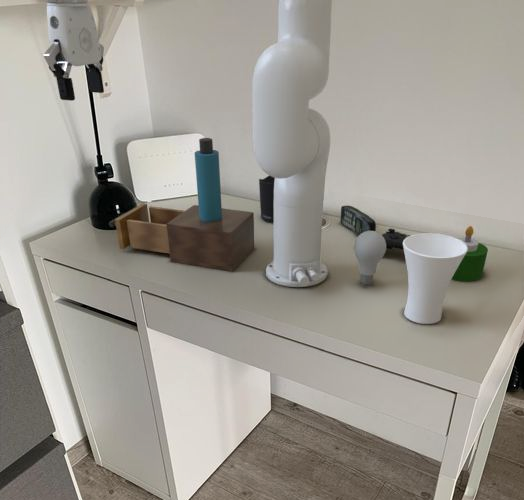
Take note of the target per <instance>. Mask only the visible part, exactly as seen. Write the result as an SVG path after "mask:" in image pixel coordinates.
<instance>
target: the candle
mask: <svg viewBox="0 0 524 500" xmlns="http://www.w3.org/2000/svg"><path fill="white" fill-rule="evenodd" d="M464 233H465V237H457V239H459V240H461V241H463V242H464V243H465V244H466V245H467V247H468V251H467V253H466V254H465V256H464V258H463V259H462V261H461V263H460V264H459V266H458V268H457V270H456V272H455V273H454V275H453V277H452V279H451V280H453V281H457V282H475V281H478V280H480V279H481V278H482V277H483V273H484V269H485V266H486V260H487V256H488V251H489V249H488V247H487V246H486V245H485V244H483V243H481V242H479V241H478V240H477V239H476V238H472V236H473V234H474V228H473V226H472V225H469V226H468V227H467V228H466V230H465V231H464Z"/></svg>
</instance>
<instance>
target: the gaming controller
mask: <svg viewBox="0 0 524 500" xmlns="http://www.w3.org/2000/svg"><path fill="white" fill-rule="evenodd" d="M381 235H382V236H383V237H384V239H385V241H386V250H393V249H396V250H400V251H404V248H403V240H404V239H405V238H407V237H409V236H411V235H412V234H406V233H402V232H400V231H396V229H395V228H388V229H387V231H386V232H385V233H383V234H381Z"/></svg>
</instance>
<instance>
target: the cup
mask: <svg viewBox="0 0 524 500" xmlns="http://www.w3.org/2000/svg"><path fill="white" fill-rule="evenodd" d="M410 235H411V236H409V237H407V238H405V239H404V240H403V248H404V250H403V253H404V258H405V264H406V270H407V277H408V278H407V281H408V283H407V284H408V289H407V300H406V304H405V307H404V311H403V314H404V317H406V319H408V320H409V321H411V322H413V323H417V324H423V325H430V324H431V325H432V324H436V323H439V321H440V320H442V315H443V314H442V313H443V303H444V301H445V297H446V293H447V291H448V288H449V286H450V283H451V281H452V280H453V279H452V277H453V275H454V273H455V272H456V270H457V268H458V266H459V264H460V263H461V261H462V259H463V258H464V256H465V254H466V253H467V251H468V247H467V245H466V244H465V243H464V242H463V241H461V240H459V239H458V237H455V236H451V235H448V234H442V233H434V232H423V233H414V234H410Z"/></svg>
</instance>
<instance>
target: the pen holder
mask: <svg viewBox="0 0 524 500" xmlns="http://www.w3.org/2000/svg"><path fill="white" fill-rule="evenodd" d="M274 181H275V178H274V177H271V176H269V175H267V176H266V177H264V178H259V179H258V185H259V186H258V187H259V188H258V189H259V202H260V203H259V207H260V217H261V220H263V221H265V222H266V223H271V224H274Z"/></svg>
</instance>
